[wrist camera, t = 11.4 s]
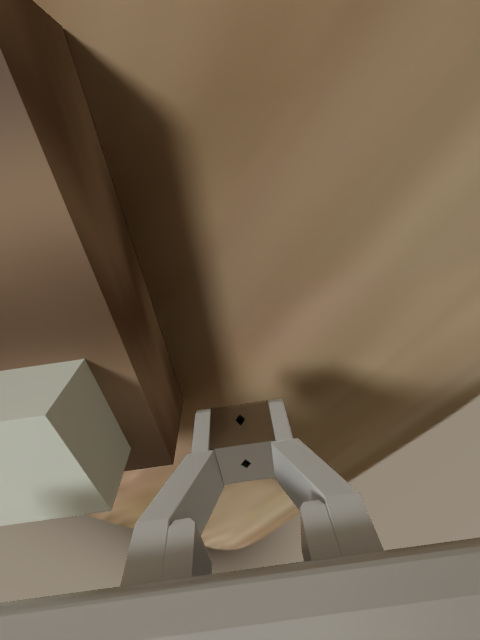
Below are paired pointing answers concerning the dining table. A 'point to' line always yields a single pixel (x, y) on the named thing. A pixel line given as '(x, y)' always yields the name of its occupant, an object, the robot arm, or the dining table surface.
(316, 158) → the dining table surface
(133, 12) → the dining table surface
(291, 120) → the dining table surface
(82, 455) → the tile
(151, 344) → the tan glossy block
